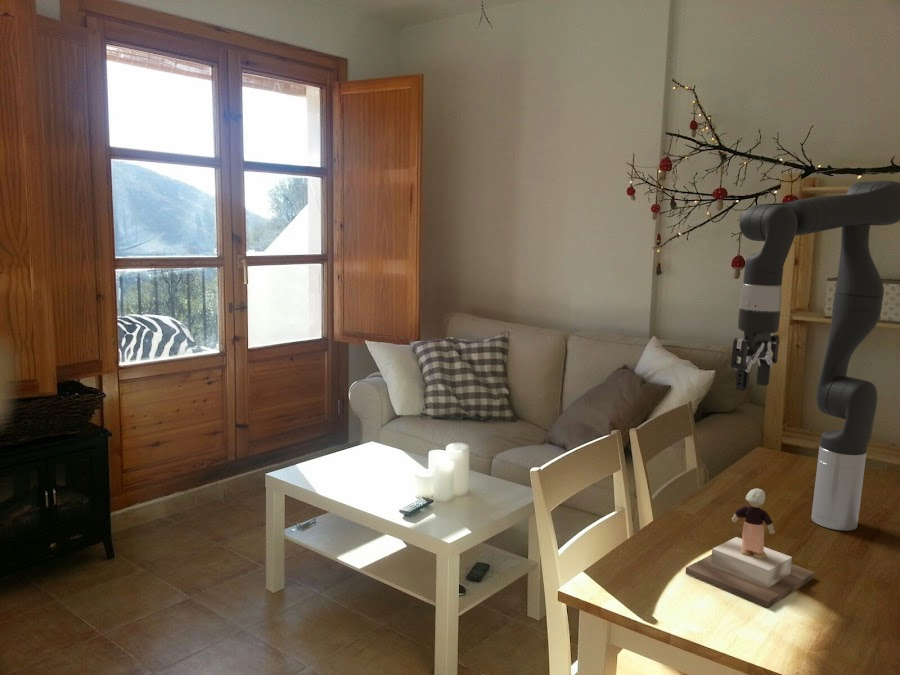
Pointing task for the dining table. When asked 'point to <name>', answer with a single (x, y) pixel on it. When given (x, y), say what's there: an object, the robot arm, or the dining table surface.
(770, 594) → the plinth
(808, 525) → the dining table surface
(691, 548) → the dining table surface
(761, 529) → the grandmother figurine
